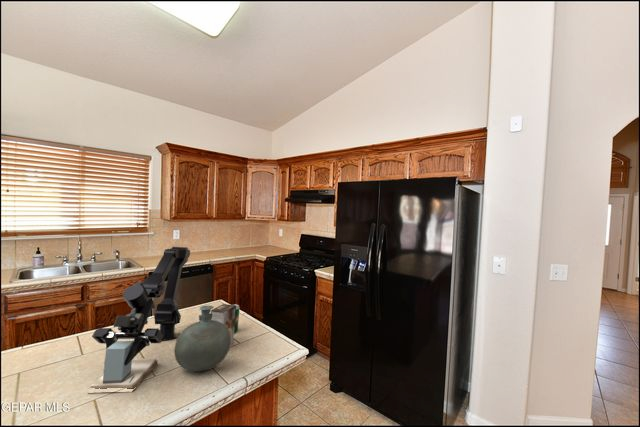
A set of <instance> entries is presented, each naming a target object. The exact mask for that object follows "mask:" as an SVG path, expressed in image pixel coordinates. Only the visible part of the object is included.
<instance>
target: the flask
mask: <svg viewBox="0 0 640 427" xmlns="http://www.w3.org/2000/svg"><path fill="white" fill-rule="evenodd" d="M212 309H214V306H213V305H209V304H208V305H203V306H200V307H199V310H200V311H201V314H199V315H198V320H199V321H196V322H194V323H192V324H190V325H188V326H187V327H185V328H184V329H183V330H182V331H181V333H180V334H179V335H178V337H177V338H176V341H175V345H174V357H175V360H176V362H177V363H178V365H179V366H180V367H182V368H183V369H184V370H187V371H190V372H204V371H208V370H211V369H213V368H215V367H217V366H218V365H220V364H221V362H222V361H224V359H225V358H226V357H227V355H228V352H229V351H230V348H231V345H232V344H231V337H230V333H229V330H228V328H227V327H226V326H225V325H224V324H223V323H221V322H219V321H214V320H211V319H212V313H211V310H212ZM230 344H231V345H230Z"/></svg>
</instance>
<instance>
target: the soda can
mask: <svg viewBox="0 0 640 427" xmlns="http://www.w3.org/2000/svg"><path fill="white" fill-rule="evenodd" d="M235 305H236V314H235V328H234V334H235V333H237V332H238V330H239V320H240V319H239V318H240V309H241V308H240V305H239V304H235Z"/></svg>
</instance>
